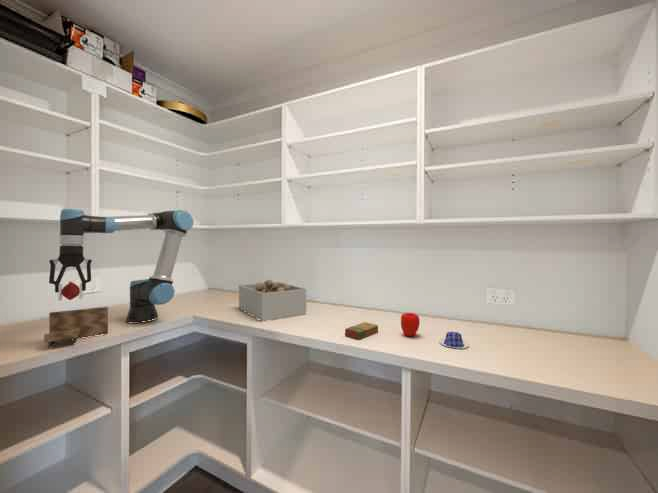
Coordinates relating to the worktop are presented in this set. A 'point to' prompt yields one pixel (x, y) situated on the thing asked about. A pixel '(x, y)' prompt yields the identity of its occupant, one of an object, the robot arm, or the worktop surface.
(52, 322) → the wallboard
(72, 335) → the cleat shelf
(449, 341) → the blue plaid bucket hat
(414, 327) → the red rounded piece
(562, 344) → the worktop surface
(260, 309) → the storage crate
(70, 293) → the onion
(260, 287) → the lumpy brown heap
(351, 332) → the carton
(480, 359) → the worktop surface
